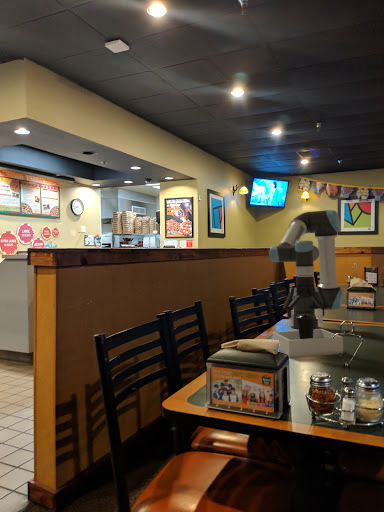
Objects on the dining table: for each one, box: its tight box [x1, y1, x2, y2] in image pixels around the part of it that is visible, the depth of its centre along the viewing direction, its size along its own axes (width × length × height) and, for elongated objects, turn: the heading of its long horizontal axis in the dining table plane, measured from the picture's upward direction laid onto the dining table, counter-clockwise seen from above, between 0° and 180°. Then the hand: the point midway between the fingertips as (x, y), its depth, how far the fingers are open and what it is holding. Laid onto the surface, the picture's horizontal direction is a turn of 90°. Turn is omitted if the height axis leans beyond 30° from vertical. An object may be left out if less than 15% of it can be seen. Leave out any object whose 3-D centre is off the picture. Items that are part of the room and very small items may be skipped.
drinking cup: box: [296, 302, 315, 339], centre depth 174 cm, size 8×8×20 cm
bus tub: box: [272, 328, 344, 358], centre depth 174 cm, size 24×18×7 cm
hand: (306, 324), depth 174 cm, fingers open, 13 cm apart
